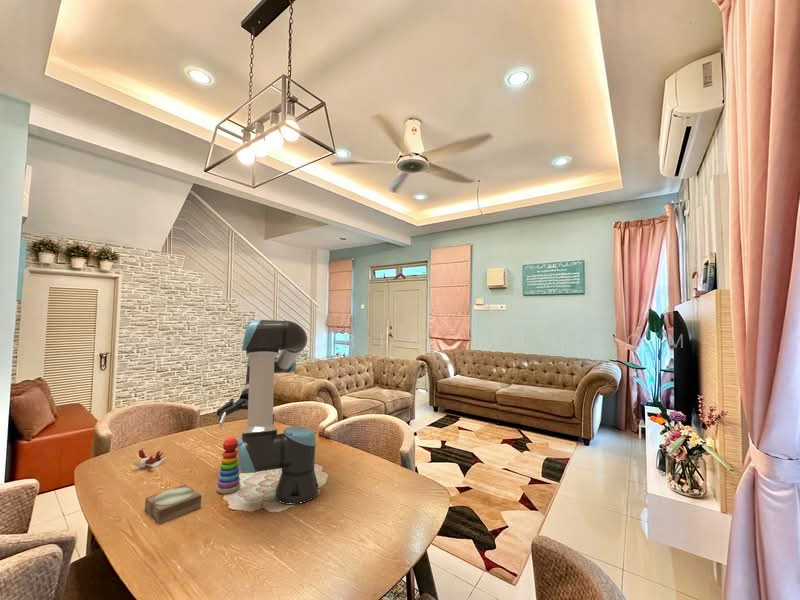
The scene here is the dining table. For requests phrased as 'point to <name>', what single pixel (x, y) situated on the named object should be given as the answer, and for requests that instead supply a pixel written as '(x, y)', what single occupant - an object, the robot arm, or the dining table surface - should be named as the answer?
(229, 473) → the stacking toy
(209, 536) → the dining table surface
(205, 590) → the dining table surface
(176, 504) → the walnut plinth
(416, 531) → the dining table surface
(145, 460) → the figurine
